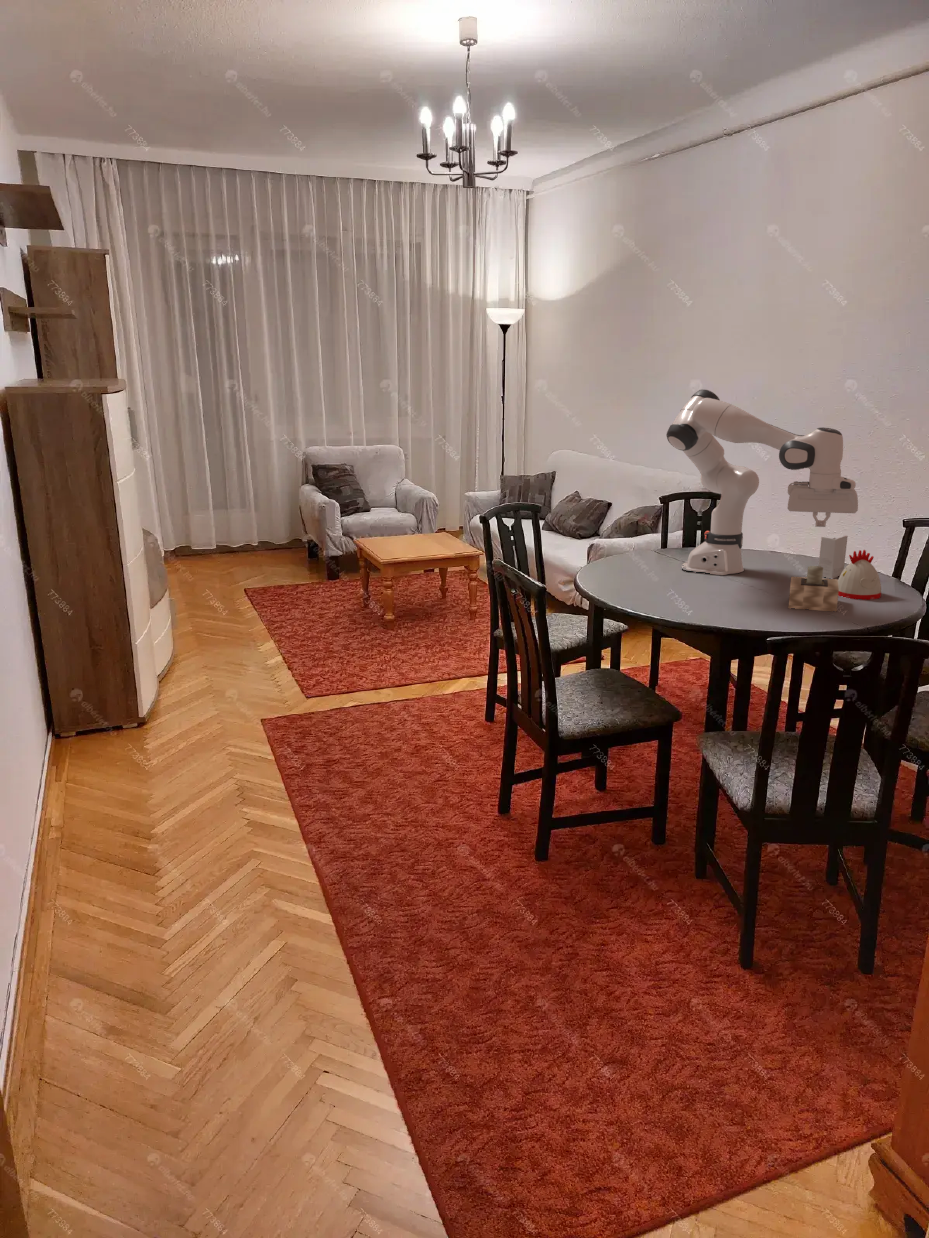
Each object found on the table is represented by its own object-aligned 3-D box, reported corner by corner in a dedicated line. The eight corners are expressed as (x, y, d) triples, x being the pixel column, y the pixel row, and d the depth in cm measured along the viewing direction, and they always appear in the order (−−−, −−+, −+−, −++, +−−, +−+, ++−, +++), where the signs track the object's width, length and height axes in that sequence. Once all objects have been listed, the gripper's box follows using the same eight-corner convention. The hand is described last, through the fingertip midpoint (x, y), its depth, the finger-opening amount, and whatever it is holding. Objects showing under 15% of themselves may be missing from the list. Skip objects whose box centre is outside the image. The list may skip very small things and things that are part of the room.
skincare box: (828, 572, 316) (832, 532, 312) (844, 575, 312) (848, 534, 307) (816, 576, 311) (820, 535, 307) (832, 579, 307) (836, 538, 302)
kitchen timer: (827, 590, 293) (831, 546, 289) (865, 588, 294) (870, 544, 290) (849, 601, 280) (854, 555, 275) (889, 598, 281) (894, 553, 277)
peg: (804, 599, 275) (807, 568, 272) (805, 595, 279) (808, 565, 276) (820, 600, 273) (823, 569, 271) (820, 596, 277) (823, 566, 275)
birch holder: (788, 608, 273) (790, 585, 271) (789, 597, 286) (791, 575, 283) (836, 611, 268) (838, 588, 266) (835, 600, 281) (837, 578, 279)
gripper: (788, 482, 267) (784, 526, 271) (860, 484, 260) (856, 529, 263) (788, 479, 272) (785, 523, 276) (859, 481, 265) (855, 526, 269)
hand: (820, 526), depth 270 cm, fingers closed
